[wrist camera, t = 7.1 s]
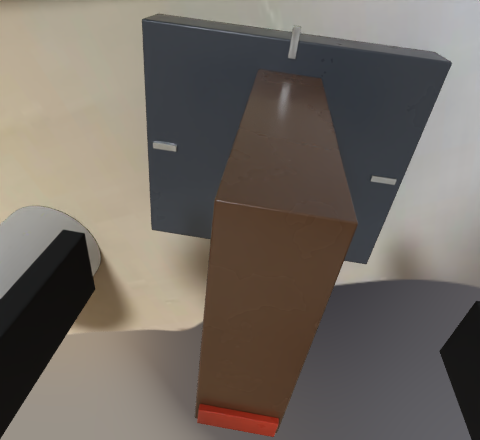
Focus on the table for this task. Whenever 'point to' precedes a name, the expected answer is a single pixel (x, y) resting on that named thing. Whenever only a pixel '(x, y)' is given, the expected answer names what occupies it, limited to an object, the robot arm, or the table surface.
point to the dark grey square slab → (236, 97)
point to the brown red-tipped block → (271, 253)
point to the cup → (35, 241)
